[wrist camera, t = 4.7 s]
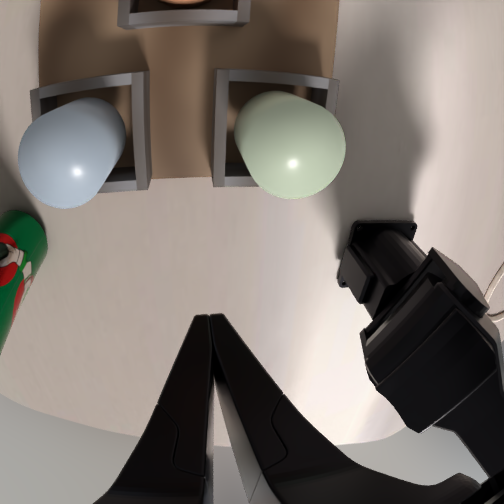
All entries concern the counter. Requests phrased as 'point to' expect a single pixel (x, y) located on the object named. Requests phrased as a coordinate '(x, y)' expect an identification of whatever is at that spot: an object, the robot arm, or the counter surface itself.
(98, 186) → the slate-blue button
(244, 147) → the sage button
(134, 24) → the walnut button board
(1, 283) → the soda can
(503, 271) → the hand towel holder
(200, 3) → the terracotta button
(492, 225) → the counter surface
